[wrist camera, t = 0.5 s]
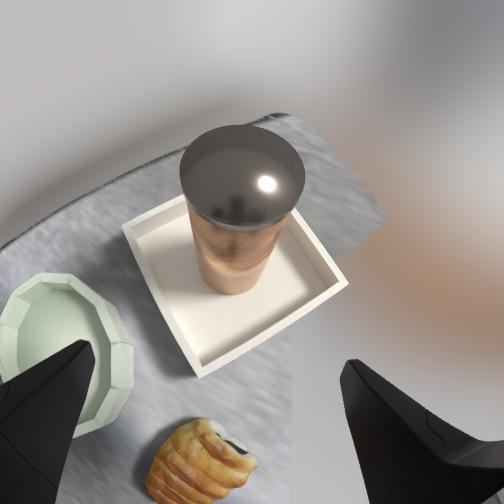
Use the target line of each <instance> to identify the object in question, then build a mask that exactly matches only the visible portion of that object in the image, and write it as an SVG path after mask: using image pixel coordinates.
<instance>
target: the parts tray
mask: <svg viewBox="0 0 504 504" xmlns="http://www.w3.org/2000/svg"><path fill="white" fill-rule="evenodd" d="M121 226H122V229H123V231H124V233H125V236H126V238H127V241H128V243H129V245H130V248H131V250H132V252H133V255H134V257H135V259H136V261H137V263H138V266H139V268H140V270H141V272H142V274H143V276H144V279H145V281H146V283H147V285H148V287H149V289H150V291H151V293H152V295H153V297H154V299H155V301H156V303H157V305H158V307H159V309H160V311H161V313H162V315H163V317H164V318H165V320H166V322H167V324H168V326H169V328H170V330H171V331H172V333H173V335H174V337H175V339H176V340H177V342H178V344H179V346H180V348H181V349H182V351H183V353H184V354H185V356H186V358H187V360H188V361H189V363H190V365H191V366H192V368H193V370H194V371H195V373H196V374H197V376H198V378H199V379H200V378H202V377H204V376H205V375H207V374H209V373H211V372H213V371H214V370H216V369H218V368H220V367H221V366H223V365H225V364H227V363H228V362H230V361H232V360H234V359H235V358H237V357H239V356H240V355H242V354H244V353H245V352H247V351H249V350H250V349H252V348H254V347H255V346H257V345H259V344H260V343H262V342H263V341H265V340H267V339H268V338H270V337H271V336H273V335H275V334H276V333H278V332H279V331H281V330H282V329H284V328H285V327H287V326H289V325H290V324H292V323H293V322H295V321H296V320H297V319H299V318H301V317H302V316H304V315H305V314H307V313H308V312H310V311H311V310H312V309H314V308H315V307H317V306H318V305H320V304H321V303H323V302H324V301H325V300H327V299H328V298H330V297H331V296H332V295H334V294H335V293H336V292H338V291H339V290H341V289H342V288H344V287H345V286H346V285H348V282H347V280H346V279H345V277H344V276H343V274H342V273H341V271H340V270H339V268H338V267H337V265H336V264H335V263H334V261H333V260H332V258H331V257H330V255H329V254H328V253H327V251H326V250H325V248H324V247H323V245H322V244H321V243H320V241H319V240H318V239H317V237H316V236H315V234H314V233H313V232H312V230H311V229H310V228H309V226H308V225H307V223H306V222H305V221H304V219H303V218H302V217H301V215H300V214H299V213H298V211H297V210H296V209H295V207H294V209H293V210H292V211H291V213H290V214H289V216H288V218H287V220H286V223H285V225H284V227H283V229H282V231H281V234H280V236H279V238H278V240H277V242H276V244H275V247H274V249H273V251H272V253H271V255H270V257H269V260H268V262H267V264H266V266H265V268H264V270H263V272H262V275H261V277H260V279H259V281H258V282H257V283H256V285H255V286H254V287H253V288H251V289H250V290H249V291H247V292H245V293H242V294H239V295H224V294H221V293H218V292H216V291H214V290H213V289H211V288H210V287H209V286H208V285H207V284H206V283H205V282H204V280H203V278H202V276H201V273H200V269H199V265H198V260H197V255H196V250H195V245H194V240H193V235H192V229H191V224H190V218H189V213H188V207H187V202H186V199H185V197H184V194H183V195H180V196H178V197H176V198H174V199H172V200H170V201H168V202H166V203H164V204H162V205H160V206H158V207H156V208H154V209H152V210H150V211H148V212H146V213H144V214H142V215H140V216H138V217H136V218H134V219H132V220H130V221H129V222H127V223H125V224H123V225H121Z"/></svg>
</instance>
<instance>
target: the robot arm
mask: <svg viewBox="0 0 504 504" xmlns="http://www.w3.org/2000/svg"><path fill="white" fill-rule="evenodd" d="M95 362H96V360H95V355H94V352H93V348H92V345H91V343H90V341H87V340H83V339H79V340H77V341H75V342H74V343H72V344H70V345H68V346H67V347H65V348H63V349H61V350H60V351H58V352H56V353H55V354H53V355H51V356H49V357H48V358H46V359H44V360H43V361H41V362H39V363H37V364H36V365H34V366H32V367H31V368H29V369H27V370H25V371H24V372H22V373H20V374H19V375H17V376H15V377H14V378H12V379H11V380H8V381H7V382H5V383H3V384H2V385H0V504H55V501H56V497H57V492H58V488H59V483H60V479H61V476H62V472H63V468H64V464H65V461H66V457H67V454H68V451H69V447H70V444H71V441H72V438H73V435H74V432H75V429H76V426H77V423H78V420H79V417H80V414H81V411H82V409H83V406H84V403H85V400H86V397H87V393H88V389H89V386H90V382H91V378H92V374H93V371H94V367H95ZM340 385H341V390H342V396H343V401H344V407H345V413H346V418H347V422H348V425H349V428H350V432H351V435H352V439H353V441H354V446H355V449H356V453H357V457H358V460H359V464H360V468H361V471H362V475H363V479H364V483H365V487H366V491H367V495H368V499H369V503H370V504H504V440H501V441H492V442H486V441H481V440H478V439H476V438H473V437H471V436H470V435H468V434H466V433H464V432H463V431H461V430H459V429H457V428H455V427H453V426H451V425H450V424H448V423H447V422H445V421H443V420H442V419H440V418H439V417H437V416H436V415H434V414H432V412H430V411H429V410H427V409H425V408H424V407H423V406H422V405H420V404H419V403H418V402H416V401H415V400H413V399H412V398H411V397H409V396H408V395H406V394H405V393H404V392H402V391H401V390H399V389H398V388H397V387H395V386H394V385H393V384H391V383H390V382H388V381H387V380H386V379H384V378H383V377H382V376H380V375H379V374H378V373H376V372H375V371H374V370H372V369H371V368H370V367H368V366H367V365H365V364H364V363H363V362H361V361H360V360H358V359H351V360H347V361H346V363H345V366H344V368H343V371H342V373H341V376H340Z"/></svg>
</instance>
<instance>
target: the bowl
mask: <svg viewBox="0 0 504 504" xmlns="http://www.w3.org/2000/svg"><path fill="white" fill-rule="evenodd" d="M79 339H83V340H87V341H90V343H91V345H92V348H93V352H94V355H95V360H96V362H95V367H94V371H93V374H92V378H91V382H90V386H89V389H88V393H87V397H86V400H85V403H84V406H83V409H82V411H81V414H80V417H79V420H78V423H77V426H76V429H75V432H74V435H73V438H76V437H78V436H81V435H83V434H86V433H89V432H91V431H94V430H96V429H99V428H101V427H103V426H105V425H107V424H109V423H111V422H113V421H115V420H116V419H117V417H118V415H119V413H120V412H121V410H122V408H123V406H124V404H125V403H126V401H127V399H128V397H129V395H130V394H131V392H132V390H133V387H134V365H133V356H134V345H133V342H132V340H131V338H130V336H129V334H128V332H127V330H126V328H125V326H124V324H123V322H122V319H121V317H120V315H119V313H118V311H117V308H116V307H115V306H114V305H113V304H112V303H110V302H109V301H108V300H106V299H105V298H104V297H102V296H101V295H100V294H99V293H97V292H96V291H95V290H93V289H92V288H91V287H90V286H88V285H87V284H86V283H84V282H83V281H81V280H80V279H78V278H77V277H75V276H74V275H73V274H60V273H41V272H40V273H38V274H37V275H35V276H34V277H32V278H31V279H29V280H28V281H27V282H25V283H24V284H22V285H21V286H19V287H18V288H16V289H15V290H14V291H13V293H12V294H11V296H10V298H9V300H8V302H7V304H6V306H5V308H4V310H3V313H2V315H1V317H0V374H1V377H2V380H3V383H5V382H7V381H8V380H11V379H12V378H14V377H15V376H17V375H19V374H20V373H22V372H24V371H25V370H27V369H29V368H31V367H32V366H34V365H36V364H37V363H39V362H41V361H43V360H44V359H46V358H48V357H49V356H51V355H53V354H55V353H56V352H58V351H60V350H61V349H63V348H65V347H67V346H68V345H70V344H72V343H74V342H75V341H77V340H79ZM73 438H72V439H73Z"/></svg>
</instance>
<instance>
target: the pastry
mask: <svg viewBox="0 0 504 504" xmlns="http://www.w3.org/2000/svg"><path fill="white" fill-rule="evenodd" d="M258 464H259V463H258V459H257V457H256V456H255V455H253V454H251V453H250V452H248V449H247V448H246V447H245V446H244V445H243V444H242V443H241V442H239V441H237V440H236V439H234V438H233V437H231V436H229V435H227V433H226V432H225V430H224V428H223V427H222V426H221V425H219V424H218V423H217V422H216V421H214V420H212V419H209V418H199V419H196V420H194V421H191V422H189V423H187V424H185V425H182V426H179V427H178V428H176V429H175V431H174V432H173V434H172V435H171V436H170V437H169V438H168V439H167V440H166V442H164V443H163V444H162V445H161V446H160V448H159V451H158V452H157V454H156V455H155V457H154V460H153V462H152V464H151V466H150V470H149V472H148V474H147V476H146V478H145V486H146V489H147V491H148V493H149V495H150V496H151V497H152V498H153V499H154V500H155V501H157V502H158V504H211V503H213V502H214V501H215V500H217V499H223V498H225V497H226V496H227V495H228V493H229V492H230V491H231V490H233V489H234V488H238V487H241V486H243V485H244V484H245V483H246V481H247V478H248V476H249V474H250V473H251V472H252V471H253V470H254V469H255V468H257V467H258Z"/></svg>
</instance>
